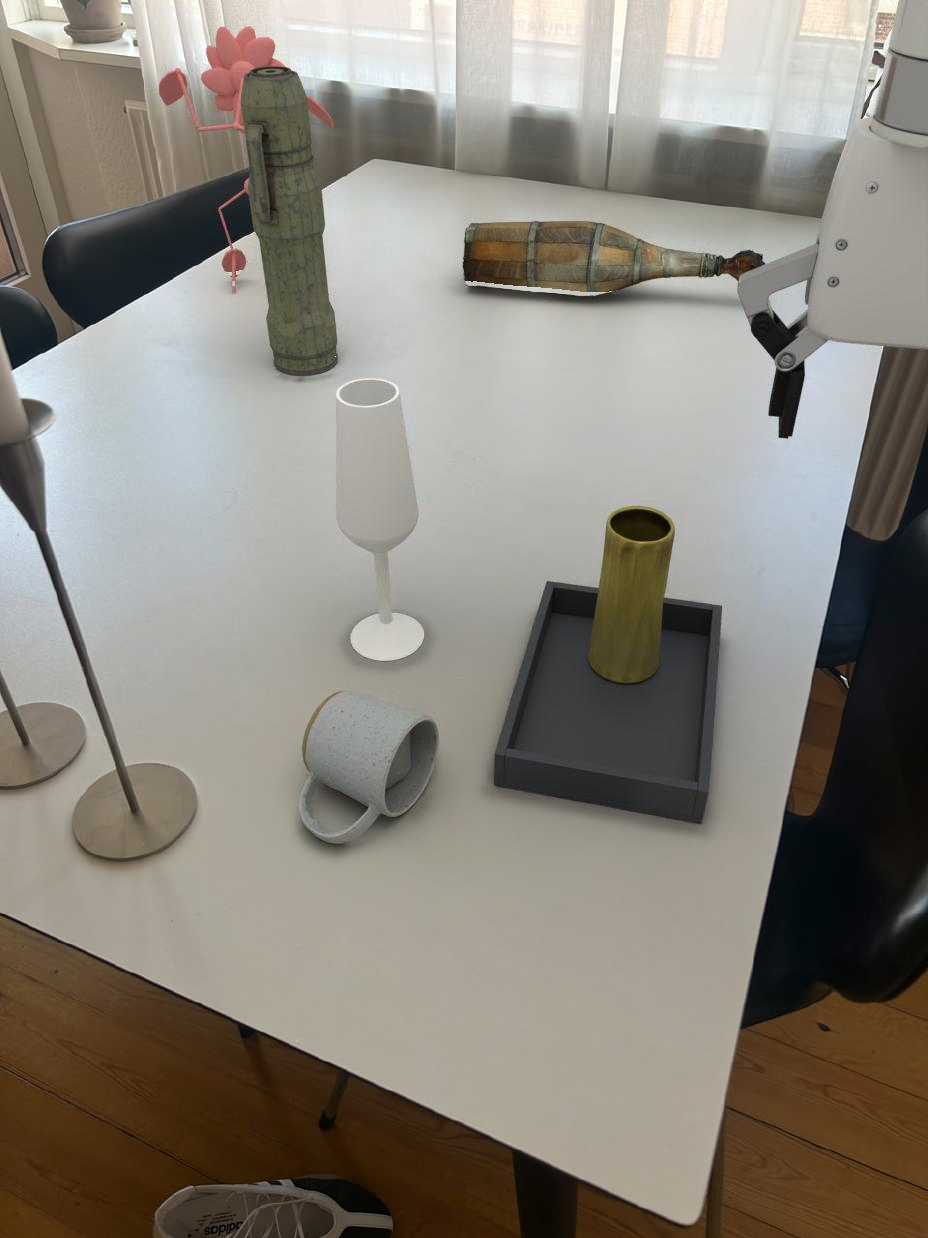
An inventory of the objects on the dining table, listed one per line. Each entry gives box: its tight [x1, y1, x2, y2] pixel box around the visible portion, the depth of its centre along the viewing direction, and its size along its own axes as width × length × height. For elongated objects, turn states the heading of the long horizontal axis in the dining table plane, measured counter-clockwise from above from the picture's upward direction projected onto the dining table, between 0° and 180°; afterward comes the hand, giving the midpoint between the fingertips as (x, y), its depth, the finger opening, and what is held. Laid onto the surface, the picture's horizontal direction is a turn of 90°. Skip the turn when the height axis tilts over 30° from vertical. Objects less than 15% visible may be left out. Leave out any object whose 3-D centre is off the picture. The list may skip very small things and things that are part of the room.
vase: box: [588, 505, 676, 684], centre depth 79 cm, size 6×6×14 cm
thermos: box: [241, 66, 339, 377], centre depth 120 cm, size 9×12×35 cm
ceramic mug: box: [298, 690, 440, 845], centre depth 71 cm, size 11×8×8 cm
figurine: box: [158, 25, 335, 293], centre depth 144 cm, size 15×26×35 cm, turn 80°
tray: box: [493, 580, 723, 825], centre depth 79 cm, size 16×22×4 cm
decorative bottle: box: [462, 220, 767, 292], centre depth 144 cm, size 11×11×45 cm
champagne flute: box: [335, 377, 425, 662], centre depth 79 cm, size 7×7×24 cm
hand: (873, 435), depth 54 cm, fingers open, 9 cm apart
